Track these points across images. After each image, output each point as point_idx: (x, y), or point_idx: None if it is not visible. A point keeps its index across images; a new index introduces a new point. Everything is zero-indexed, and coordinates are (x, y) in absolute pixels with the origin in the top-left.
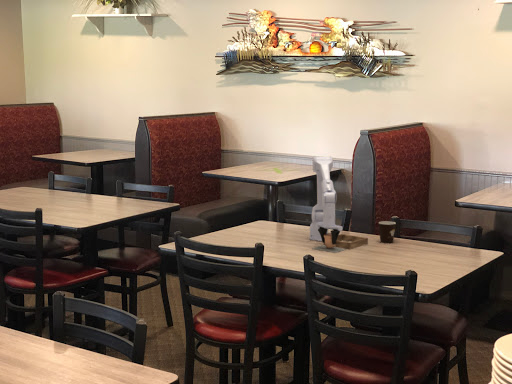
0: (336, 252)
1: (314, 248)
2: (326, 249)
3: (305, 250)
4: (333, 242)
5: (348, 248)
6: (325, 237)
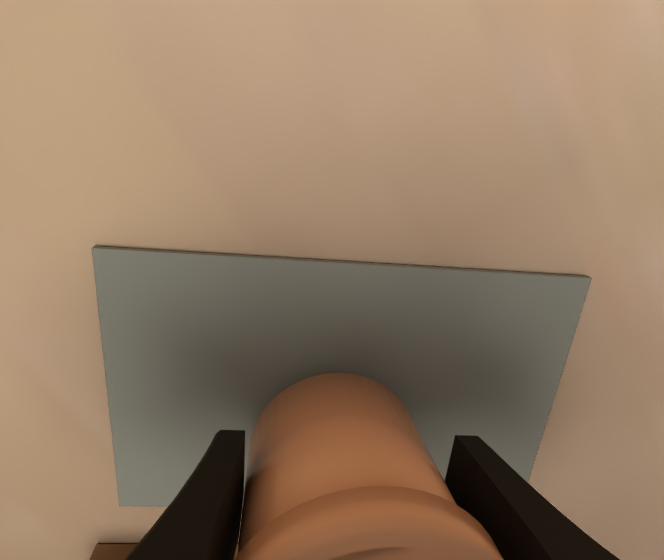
0: (97, 278)
1: (548, 286)
2: (346, 340)
3: (649, 92)
4: (202, 459)
5: (120, 549)
6: (410, 499)
